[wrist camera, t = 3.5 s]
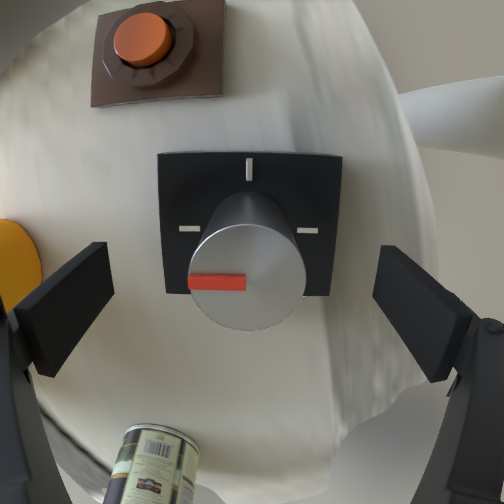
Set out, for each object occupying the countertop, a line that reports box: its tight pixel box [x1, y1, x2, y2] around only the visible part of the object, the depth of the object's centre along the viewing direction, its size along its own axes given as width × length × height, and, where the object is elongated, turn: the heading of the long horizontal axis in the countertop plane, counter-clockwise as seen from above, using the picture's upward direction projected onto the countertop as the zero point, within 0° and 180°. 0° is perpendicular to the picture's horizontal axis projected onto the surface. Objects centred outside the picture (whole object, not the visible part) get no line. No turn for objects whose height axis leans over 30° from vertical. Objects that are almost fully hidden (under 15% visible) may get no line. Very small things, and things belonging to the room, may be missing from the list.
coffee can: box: [103, 424, 200, 504], centre depth 27 cm, size 10×10×14 cm
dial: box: [188, 191, 306, 331], centre depth 17 cm, size 5×5×8 cm
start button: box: [114, 13, 172, 66], centre depth 16 cm, size 4×4×2 cm
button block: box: [91, 0, 226, 108], centre depth 18 cm, size 10×8×3 cm
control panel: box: [157, 151, 342, 296], centre depth 22 cm, size 12×10×3 cm
